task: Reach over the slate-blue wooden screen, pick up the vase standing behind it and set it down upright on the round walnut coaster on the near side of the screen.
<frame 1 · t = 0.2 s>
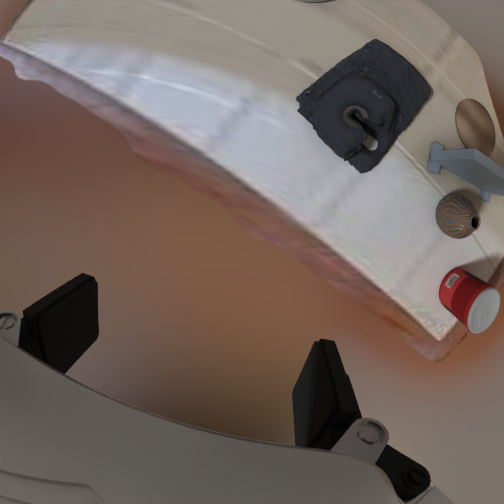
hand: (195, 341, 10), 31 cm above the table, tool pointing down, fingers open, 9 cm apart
canned food: (452, 286, 41), on the table
dark slate chunk: (369, 100, 35), on the table
coaster: (475, 127, 33), on the table
screen: (462, 173, 35), on the table
vase: (444, 212, 38), on the table
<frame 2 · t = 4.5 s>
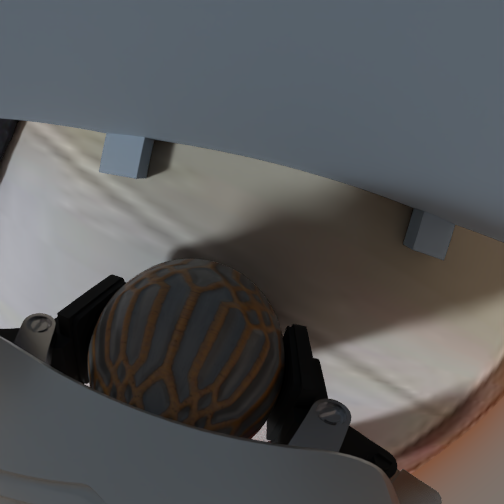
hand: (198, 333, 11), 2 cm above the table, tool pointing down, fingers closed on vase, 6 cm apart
dark slate chunk: (22, 48, 10), on the table
screen: (294, 150, 11), on the table
vase: (209, 310, 13), on the table, touching gripper
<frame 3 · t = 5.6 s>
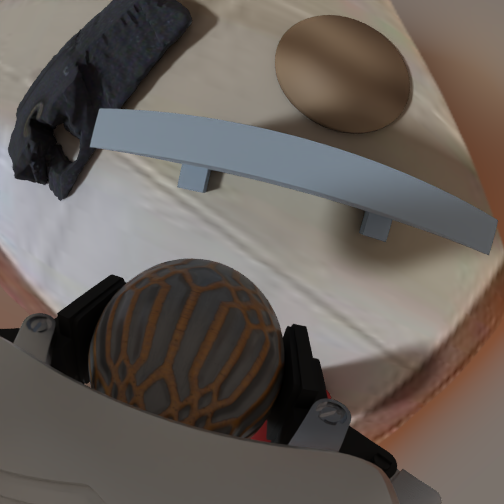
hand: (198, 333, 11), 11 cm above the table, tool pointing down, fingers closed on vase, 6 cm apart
dark slate chunk: (91, 81, 19), on the table
coaster: (344, 69, 17), on the table
screen: (292, 178, 20), on the table
vase: (209, 309, 13), point 9 cm above the table, touching gripper
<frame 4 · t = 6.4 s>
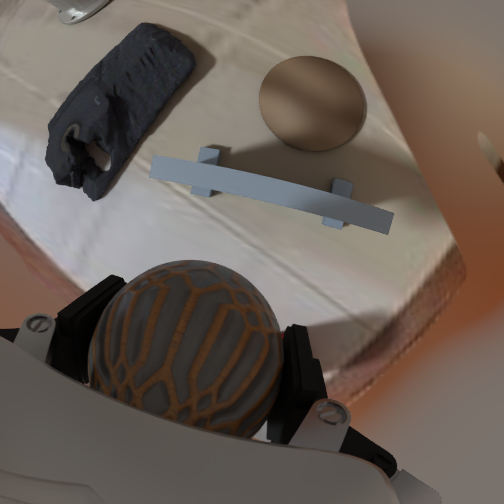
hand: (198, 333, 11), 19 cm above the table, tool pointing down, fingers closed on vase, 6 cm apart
dark slate chunk: (115, 106, 27), on the table
coaster: (311, 101, 25), on the table
screen: (272, 186, 28), on the table
vase: (208, 311, 13), point 17 cm above the table, touching gripper
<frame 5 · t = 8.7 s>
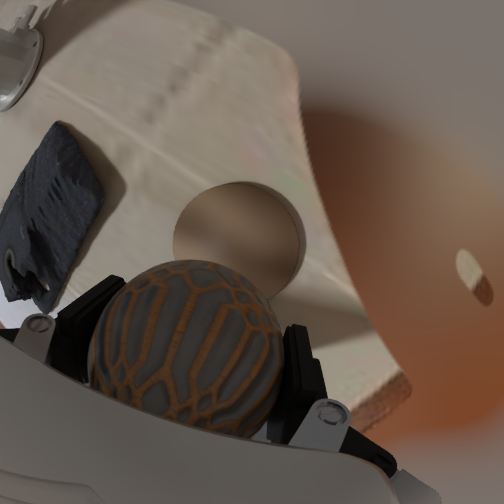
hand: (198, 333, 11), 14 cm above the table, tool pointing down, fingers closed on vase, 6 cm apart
dark slate chunk: (45, 224, 26), on the table
coaster: (234, 247, 24), on the table
vase: (209, 310, 13), point 12 cm above the table, touching gripper
when the fingers open (3 cm above the table, at t = 11.1 s): vase stays where it is, resting on coaster.
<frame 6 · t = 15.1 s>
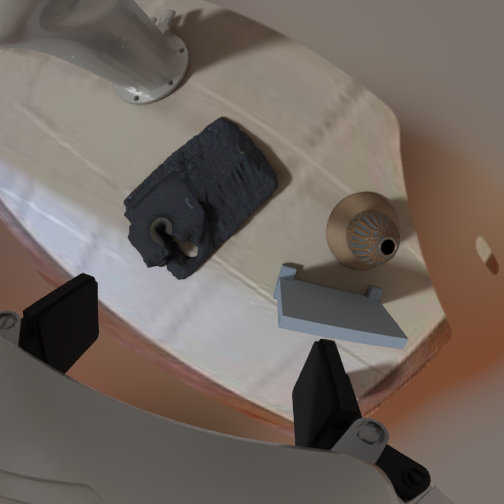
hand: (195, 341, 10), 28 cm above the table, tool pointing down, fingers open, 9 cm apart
dark slate chunk: (197, 199, 38), on the table
coaster: (363, 231, 37), on the table
screen: (329, 292, 40), on the table
vase: (363, 231, 36), resting on coaster
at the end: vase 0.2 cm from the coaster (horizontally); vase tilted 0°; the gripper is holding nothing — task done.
